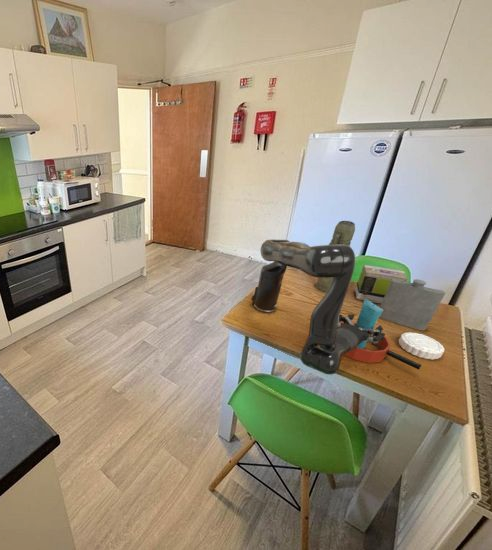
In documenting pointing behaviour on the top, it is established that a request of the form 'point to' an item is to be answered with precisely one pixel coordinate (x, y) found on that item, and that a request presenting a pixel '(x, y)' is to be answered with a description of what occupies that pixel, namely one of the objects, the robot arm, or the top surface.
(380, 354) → the pan
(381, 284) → the tea box
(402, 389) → the top surface
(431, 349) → the mooncake
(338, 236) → the thermos
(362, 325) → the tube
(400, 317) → the hip flask
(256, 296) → the robot arm
